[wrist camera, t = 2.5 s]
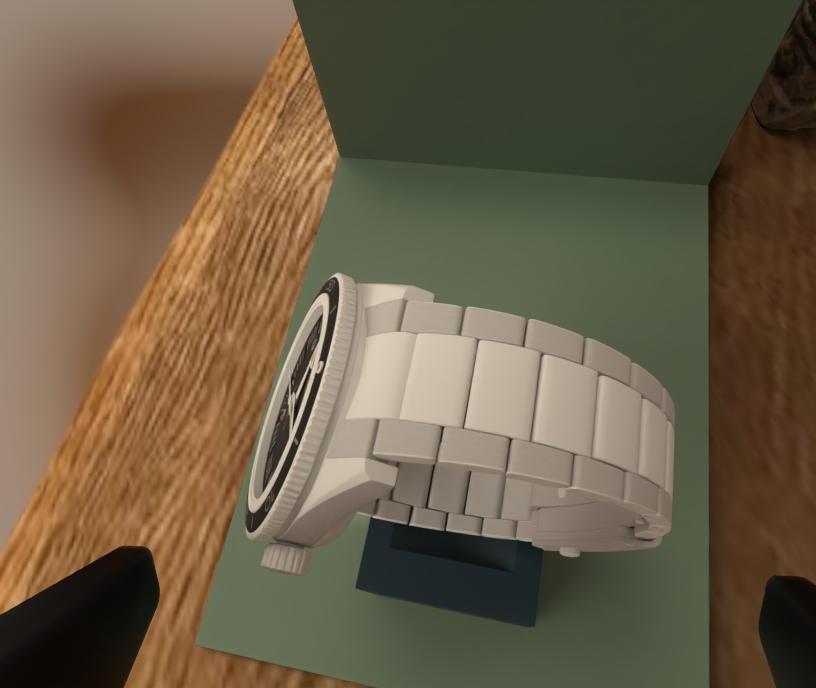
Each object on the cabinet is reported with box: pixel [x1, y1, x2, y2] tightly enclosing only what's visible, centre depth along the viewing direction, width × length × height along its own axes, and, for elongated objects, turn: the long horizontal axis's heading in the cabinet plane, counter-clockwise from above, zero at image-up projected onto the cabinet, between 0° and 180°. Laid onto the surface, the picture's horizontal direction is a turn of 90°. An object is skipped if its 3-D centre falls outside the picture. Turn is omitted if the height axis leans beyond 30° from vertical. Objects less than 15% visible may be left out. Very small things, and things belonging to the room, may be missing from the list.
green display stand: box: [195, 0, 803, 688], centre depth 17 cm, size 20×14×8 cm
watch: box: [245, 273, 675, 627], centre depth 13 cm, size 6×8×11 cm
